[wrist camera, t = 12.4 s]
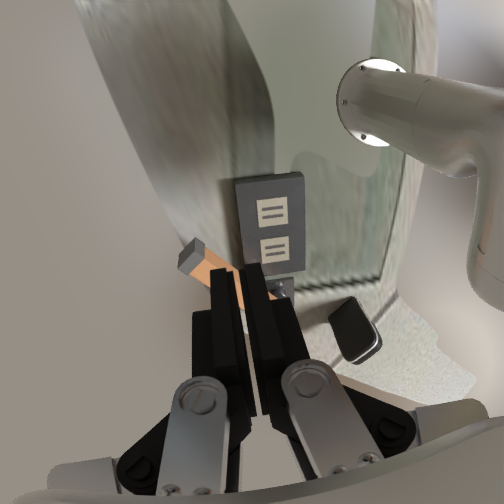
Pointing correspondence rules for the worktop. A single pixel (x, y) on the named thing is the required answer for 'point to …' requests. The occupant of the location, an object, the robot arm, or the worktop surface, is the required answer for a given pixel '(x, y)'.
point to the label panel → (272, 221)
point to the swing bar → (207, 265)
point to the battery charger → (355, 332)
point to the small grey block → (281, 288)
